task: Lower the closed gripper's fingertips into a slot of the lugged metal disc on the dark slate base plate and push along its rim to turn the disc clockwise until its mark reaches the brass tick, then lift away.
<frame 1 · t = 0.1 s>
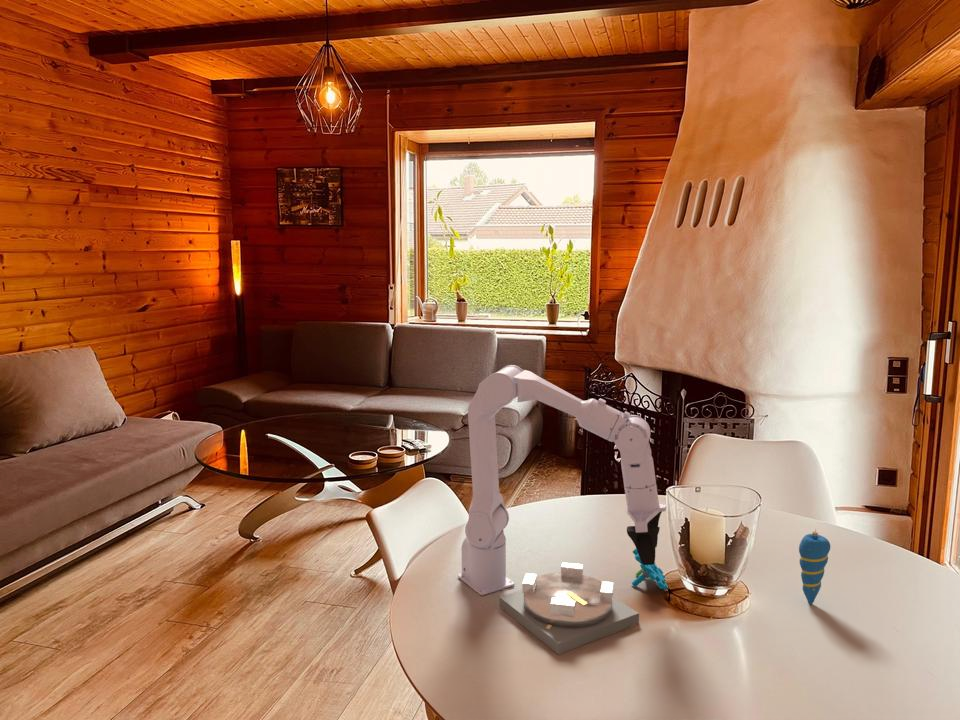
hand: (649, 555, 126), 11 cm above the table, tool pointing down, fingers open, 7 cm apart
lugged metal disc: (567, 593, 125), point 4 cm above the table, hinge at 0.0°
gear: (650, 587, 136), on the table
ornament: (810, 605, 128), on the table
base plate: (567, 614, 125), on the table
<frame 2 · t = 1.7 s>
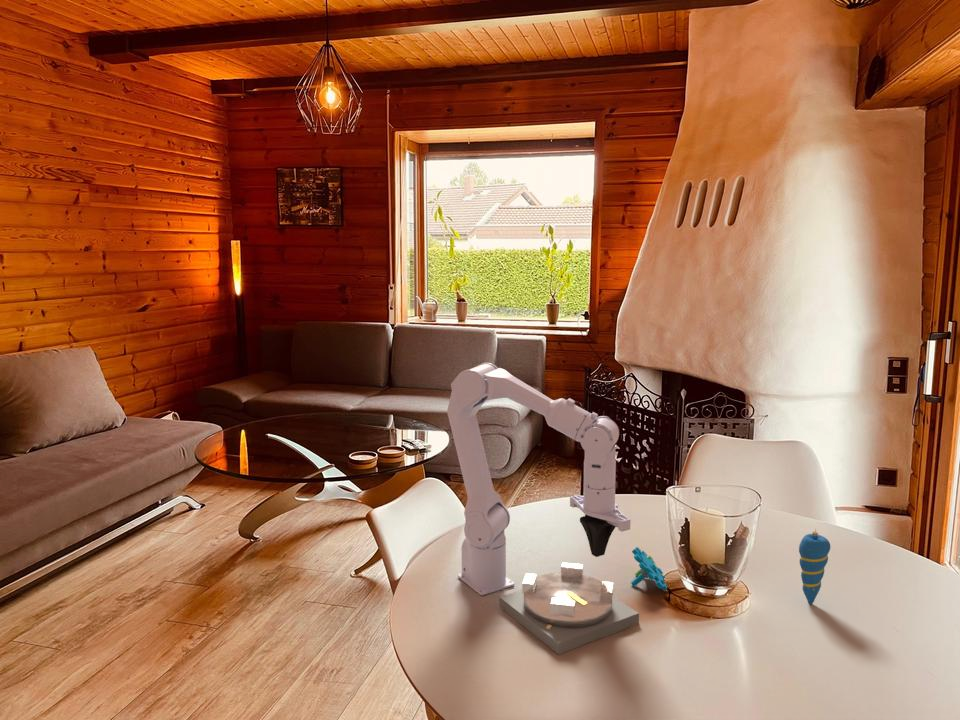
hand: (598, 554, 127), 10 cm above the table, tool pointing down, fingers closed
nothing on the table moved.
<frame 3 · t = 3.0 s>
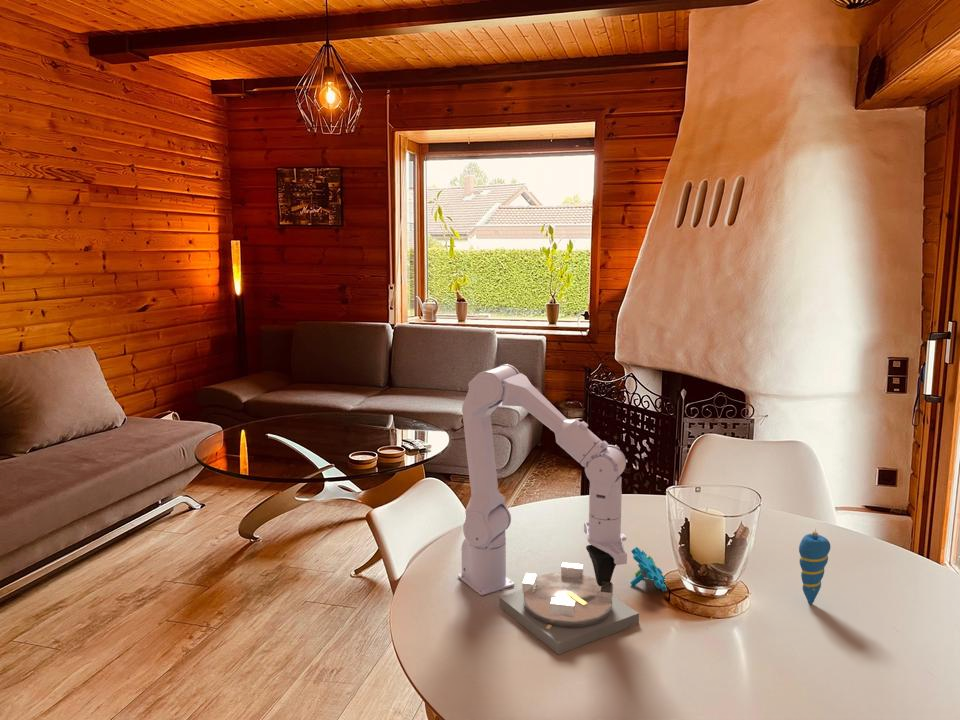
hand: (603, 584, 126), 5 cm above the table, tool pointing down, fingers closed
lugged metal disc: (567, 593, 125), point 4 cm above the table, hinge at -0.3°, touching gripper
everything else where it was.
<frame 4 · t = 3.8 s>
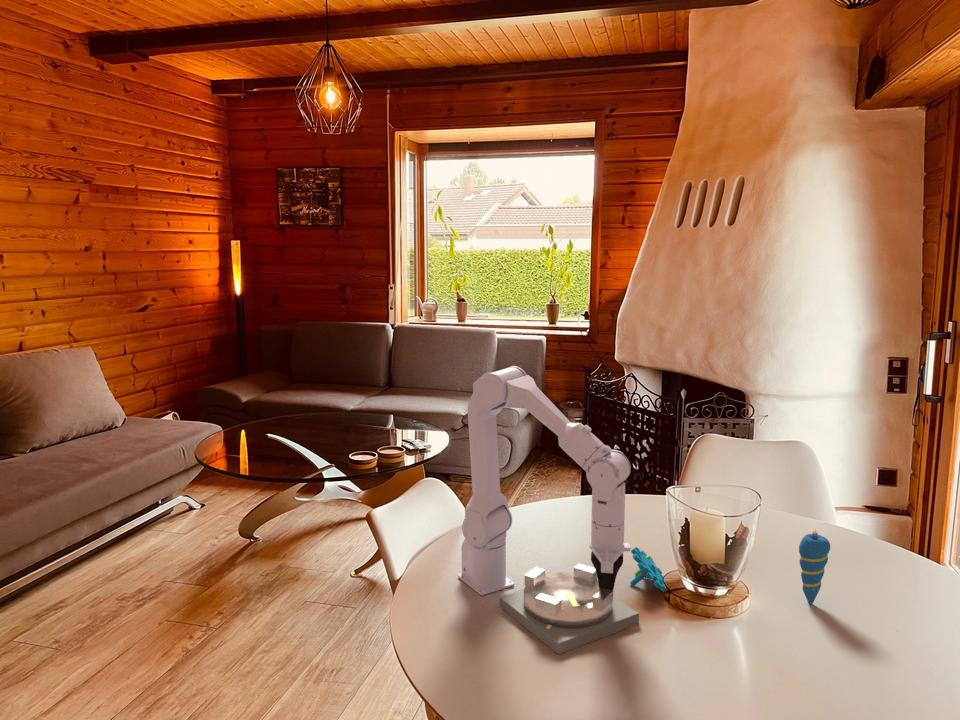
hand: (606, 592, 123), 5 cm above the table, tool pointing down, fingers closed, pressing on lugged metal disc
lugged metal disc: (567, 593, 125), point 4 cm above the table, hinge at -22.0°, touching gripper
everything else where it was.
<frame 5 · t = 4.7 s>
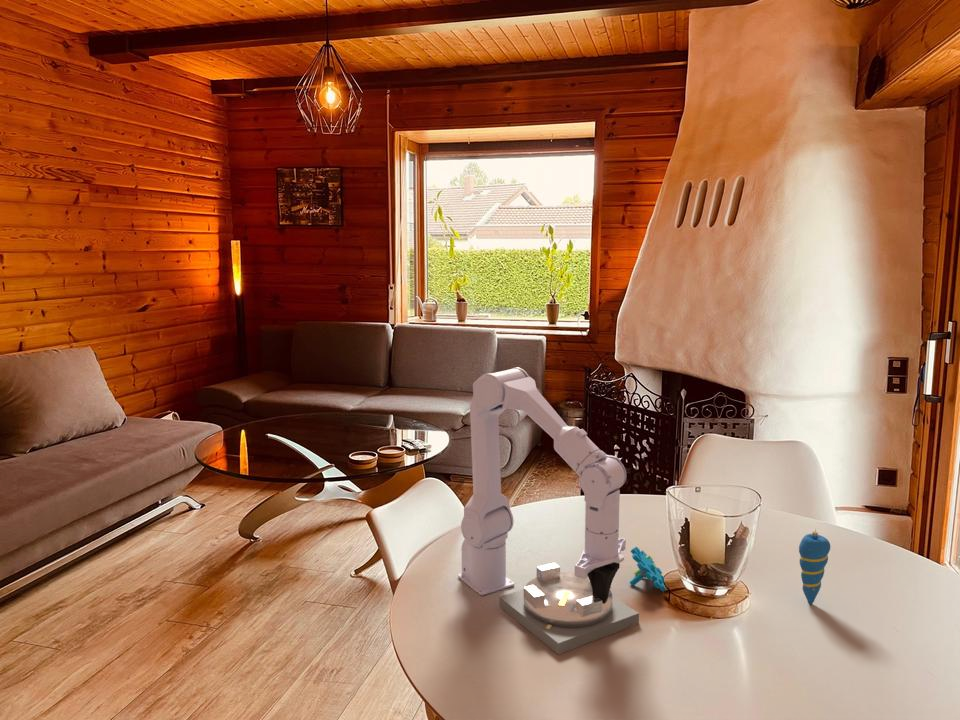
hand: (600, 601, 120), 5 cm above the table, tool pointing down, fingers closed, pressing on lugged metal disc
lugged metal disc: (567, 593, 125), point 4 cm above the table, hinge at -51.5°, touching gripper
everything else where it was.
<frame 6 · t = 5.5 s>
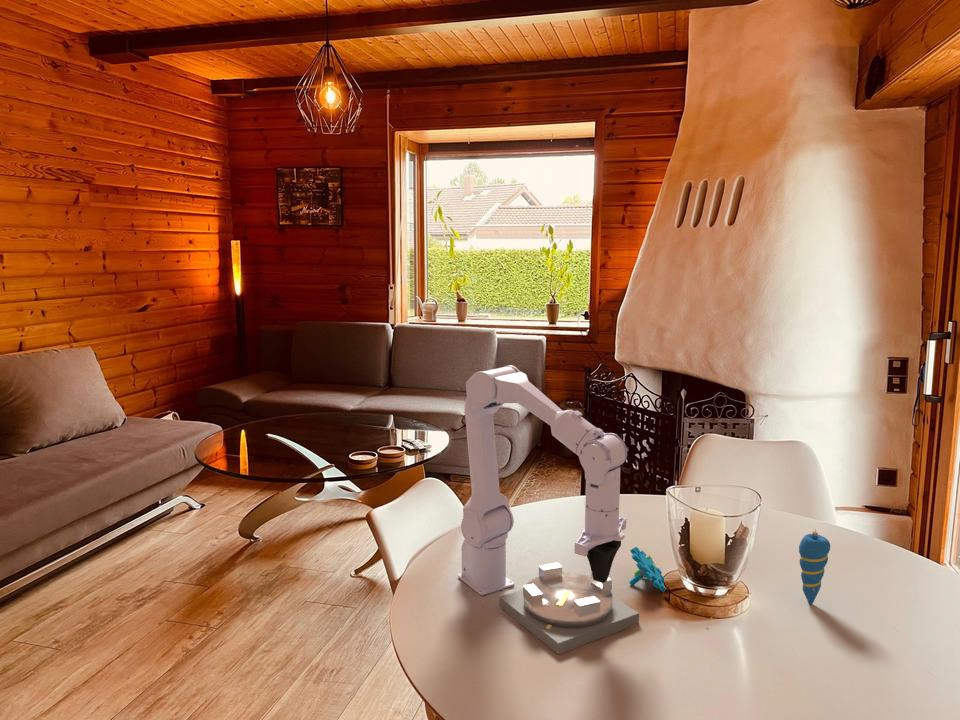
hand: (600, 580, 119), 9 cm above the table, tool pointing down, fingers closed
lugged metal disc: (567, 593, 125), point 4 cm above the table, hinge at -55.3°
everything else where it was.
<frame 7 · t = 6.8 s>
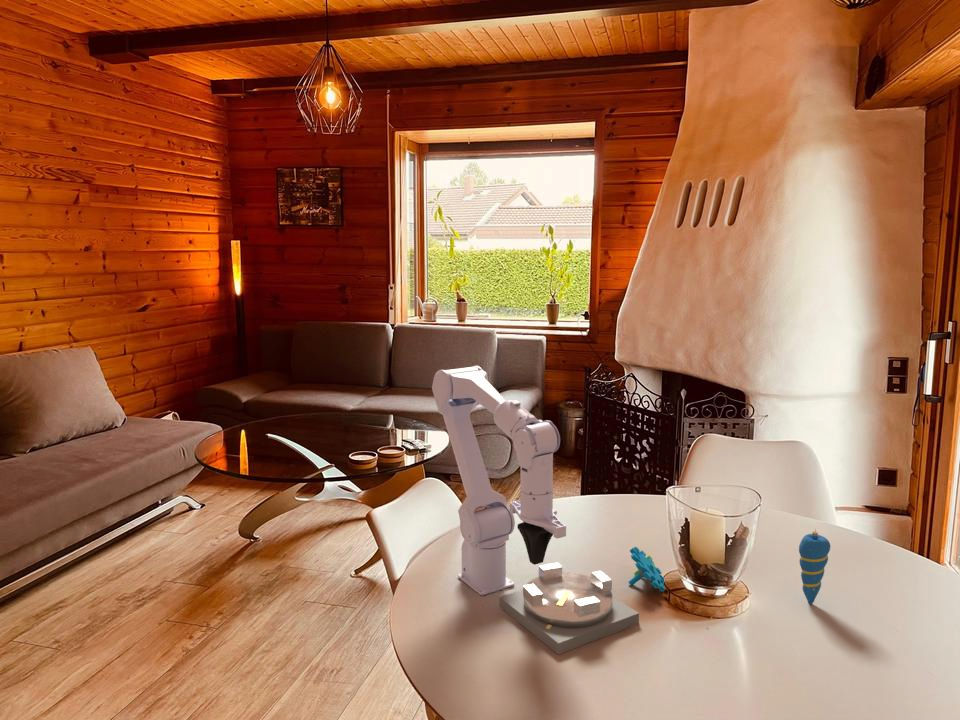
hand: (536, 562, 123), 10 cm above the table, tool pointing down, fingers closed
nothing on the table moved.
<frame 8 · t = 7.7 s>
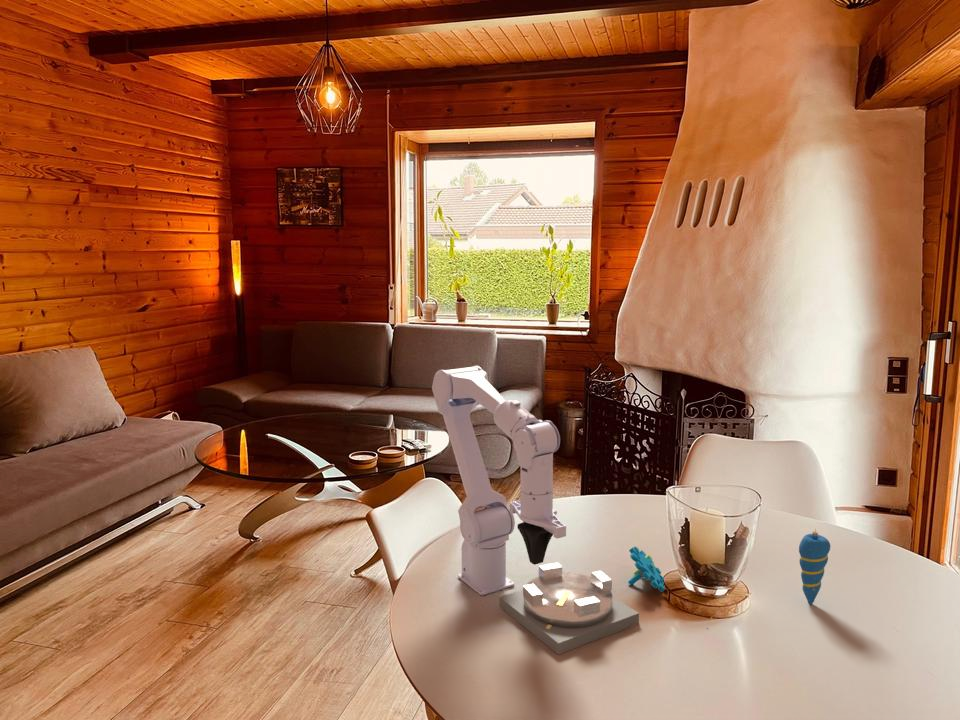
hand: (536, 562, 123), 10 cm above the table, tool pointing down, fingers closed
nothing on the table moved.
at the end: lugged metal disc at -55° (first picture: +0°); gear moved 0.8 cm from its start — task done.
